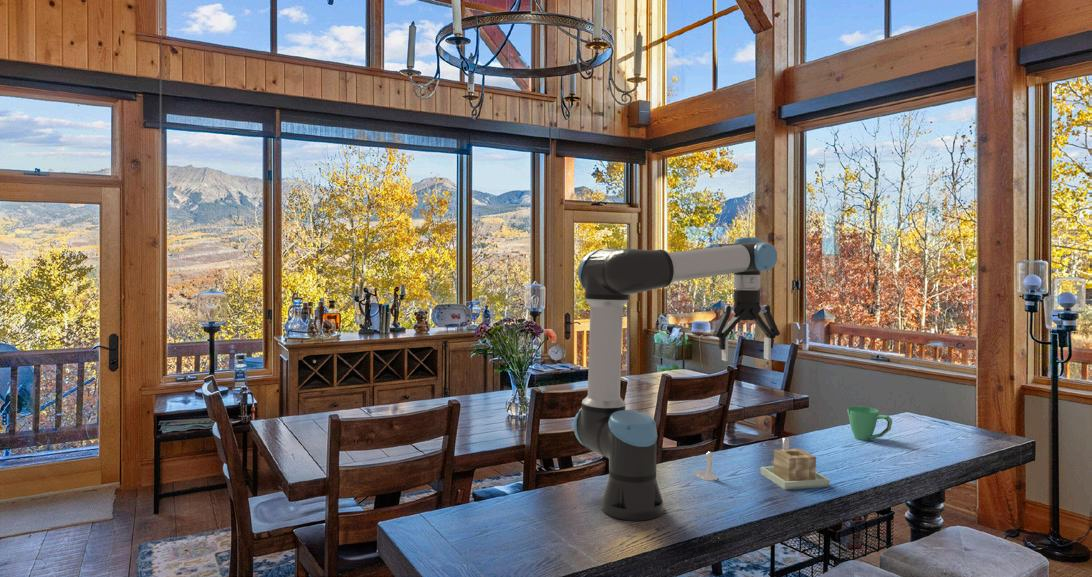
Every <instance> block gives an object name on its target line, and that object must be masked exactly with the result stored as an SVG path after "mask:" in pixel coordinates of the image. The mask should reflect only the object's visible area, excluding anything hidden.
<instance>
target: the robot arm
mask: <svg viewBox="0 0 1092 577" xmlns="http://www.w3.org/2000/svg"><path fill="white" fill-rule="evenodd" d="M777 261H778V251H777V249H776V247H775V246H774V245H773V244H772V243H769V242H763V241H761V239H760V238H759V237H750V236H749V237H747V236H746V237H745V236H744V237H736V238H735V239H734V243H733V242H732V243H707V244H705V246H704V247H703V248H697V249H688V250H681V251H679V250H678V251H671V252H668V251H667V250H665V249H653V250H652V249H636V248H600V249H594V250H592V251H590V252H588V253H587V254H586V255H585V256H584V257H583V258H582V260H581V261H580V263H579V266H578V269H577V277H578V282H579V284H580V285H581V286H582V288H583V289H584V300H585V301H586V302H587V304H588V305H589V309H590V310H589V312H590V313H589V336H588V337H589V339H588V340H589V343H588V347H589V348H588V372H587V373H588V376H587V396H586V397H585V398H583V399H582V401H581V408H580V409H579V410H578V412H577V413H576V414H575V417H574V418H573V432H574V435H575V437H576V439H577V441H578V442H579V443H580V444H581V445H582V446H584V447H585V448H586V449H588V450H589V451H590V452H595V453H597V454H599V455H601V456H602V457H605V458H606V459H608V480H607V482H606V486H605V488H604V492H603V495H602V497H601V498H602V499H601V510H602V511H603V512H604V513H605V514H607V515H608V516H610V517H613V518H615V519H619V520H622V521H634V522H635V521H639V522H641V521H648V520H654V519H656V518H658V517H660V516H661V515H662V514H663V513H664V499H663V496H662V493H661V490H660V487H659V483H658V481H657V459H658V458H657V454H658V453H657V451H658V447H657V446H658V432H657V424H656V421H655V420H654V418H653V417H652V416H650V415H648V414H646V413H644V412H640V411H635V410H630V409H629V410H628V409H626V402H625V401H624V399H623V398H622V397H621V379H622V376H621V373H622V372H621V371H622V370H621V369H622V346H623V345H622V344H623V343H622V342H623V339H622V338H623V313H624V312H623V309H624V306H625V305H626V304H627V303H628V302H629V301H630V295H634V294H639V293H644V292H649V291H651V290H657V289H661V288H664V289H665V288H667V287H669V286H670V285H672V283H676V282H683V281H690V280H697V279H704V278H711V277H717V276H722V275H729V274H733V288H734V290H733V306H730V305H727V304H726V305H724V306H723V311H722V314H721V316H720V318H719V320H718V323H717V324H716V326H715V329H714V330H713V333H712V335H713V336H714V337H716V338H718V340H719V341H718V343H719V345H718V346H719V350H721V360H722V361H724V362H728V361H729V338H727V337H728V336H729V335H730V334H731V332H732V331H733V330H734V329H735V327H736V326H737V324H738V323H740V322H741V321H743V322H744V321H754V322H755V323H756V325H758V327H759V328H760V329H761V331H762V332H763V333H764V334H765V336H766V337H763V359H765V360H767V361H771V360H772V359H771V355H772V352H771V351H772V349H773V348H774V339H775V338H776V337H778V336H780V332H781V331H780V330H779V328H778V326H777V323H776V321H775V319H774V317H773V315H772V312H771V306H770V305H769V304H763V305H760V303H761V290H760V288H761V272H764V271H770V270H772V269H773V268H774V267H775V266H776V264H777V263H778V262H777ZM732 312H733V313H734V315H732V316H731V313H732ZM760 312H761V313H762V314H763V317H764V319H765V321H766V323H767V324H766V323H765V321H764V320H763V318H762V317H761V316H760V314H759V313H760ZM730 316H731V319H730ZM729 319H730V320H729ZM728 320H729V321H728Z"/></svg>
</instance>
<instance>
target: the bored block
mask: <svg viewBox="0 0 1092 577" xmlns="http://www.w3.org/2000/svg"><path fill="white" fill-rule="evenodd" d="M773 460H774V465H773V466H774V474H775V475H776V476H778V477H779V478H781V479H783V480H784V481H786V482H787V481H803V480H816V472H817V464H816V463H817V456H815V455H813V454H811V453H809V452H807V451H806V450H803V449H801V448H789V449H783V448H782V449H774V450H773Z"/></svg>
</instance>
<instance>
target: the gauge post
mask: <svg viewBox="0 0 1092 577" xmlns="http://www.w3.org/2000/svg"><path fill="white" fill-rule="evenodd" d="M783 449H790V437H782V450H783ZM770 464H771V465H772V466H774V459H773V460H771V461H770Z"/></svg>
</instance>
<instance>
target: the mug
mask: <svg viewBox="0 0 1092 577" xmlns="http://www.w3.org/2000/svg"><path fill="white" fill-rule="evenodd" d="M846 411H847V415H848V416H847V417H848V420H849V426H850V429H851V432H852V434H853V437H854V439H855V440H856V439H857V440H860V441H870V440H872V439H877V438H881V437H883V436H884V435H885V434H887V433H888V432H889V431H891V430H892V424H893V420H892V418H891V417H890V416H889V415H885V414H880V411H879V409H877V408H873V407H868V406H849V407H847V410H846ZM878 420H886V423H887V425H886V427H885V429H883V431H881V432H880V433H876V434H874V433H875V432H874V431H875V429H876V426H877V422H878Z"/></svg>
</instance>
